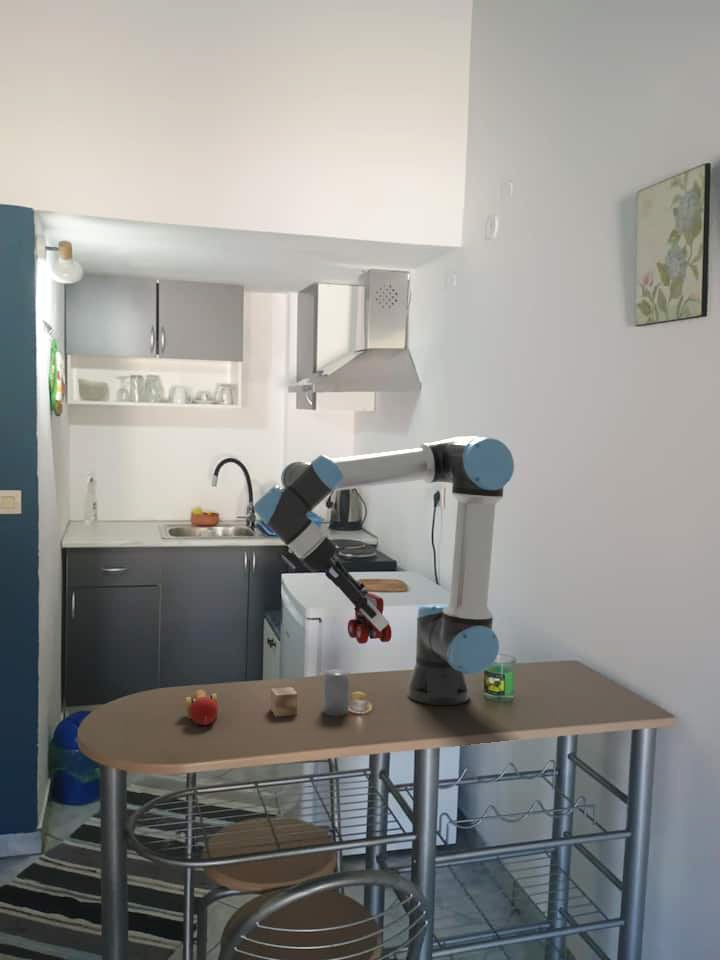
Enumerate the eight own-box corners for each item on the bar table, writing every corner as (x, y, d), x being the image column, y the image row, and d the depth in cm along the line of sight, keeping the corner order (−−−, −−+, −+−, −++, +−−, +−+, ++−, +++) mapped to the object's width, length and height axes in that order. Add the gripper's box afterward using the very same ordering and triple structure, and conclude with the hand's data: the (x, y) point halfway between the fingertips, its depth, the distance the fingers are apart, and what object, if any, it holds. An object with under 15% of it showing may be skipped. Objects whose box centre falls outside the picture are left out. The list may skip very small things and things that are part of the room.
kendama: (179, 709, 196) (183, 725, 179) (185, 681, 197) (189, 695, 179) (212, 713, 198) (219, 729, 180) (217, 686, 199) (225, 700, 181)
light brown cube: (291, 708, 195) (291, 687, 195) (296, 715, 191) (297, 693, 190) (270, 709, 194) (270, 688, 194) (275, 717, 189) (275, 695, 189)
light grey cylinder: (347, 707, 197) (349, 669, 197) (349, 715, 191) (350, 677, 191) (322, 706, 197) (323, 669, 196) (322, 715, 191) (324, 676, 190)
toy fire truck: (372, 631, 189) (374, 586, 188) (394, 645, 177) (396, 597, 177) (343, 633, 186) (345, 587, 186) (364, 647, 175) (365, 598, 174)
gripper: (300, 551, 191) (364, 619, 193) (300, 568, 168) (374, 646, 170) (324, 529, 191) (388, 597, 193) (327, 543, 168) (401, 620, 170)
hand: (381, 620), depth 181 cm, fingers closed on toy fire truck, 11 cm apart
